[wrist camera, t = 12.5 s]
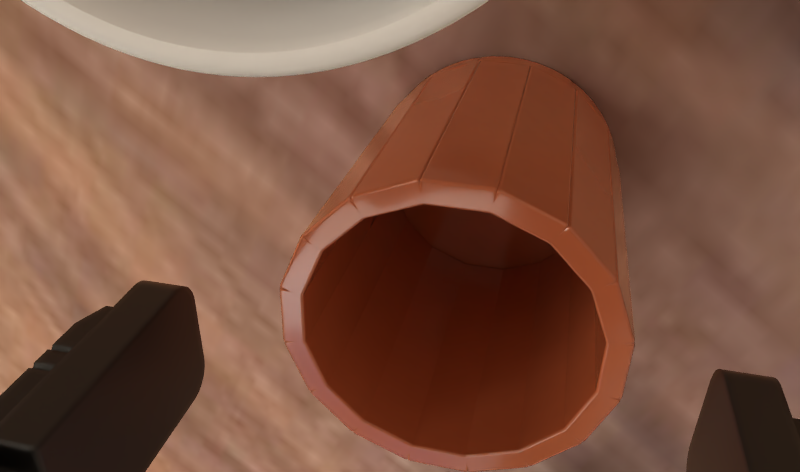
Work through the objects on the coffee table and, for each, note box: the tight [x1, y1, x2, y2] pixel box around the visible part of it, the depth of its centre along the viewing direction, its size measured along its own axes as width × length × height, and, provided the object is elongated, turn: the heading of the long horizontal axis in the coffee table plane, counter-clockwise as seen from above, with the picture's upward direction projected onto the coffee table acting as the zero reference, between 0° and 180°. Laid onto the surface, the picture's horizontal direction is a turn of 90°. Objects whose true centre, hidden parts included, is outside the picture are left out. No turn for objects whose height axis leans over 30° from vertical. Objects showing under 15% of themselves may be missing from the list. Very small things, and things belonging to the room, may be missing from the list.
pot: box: [280, 56, 635, 472], centre depth 15 cm, size 6×6×8 cm
